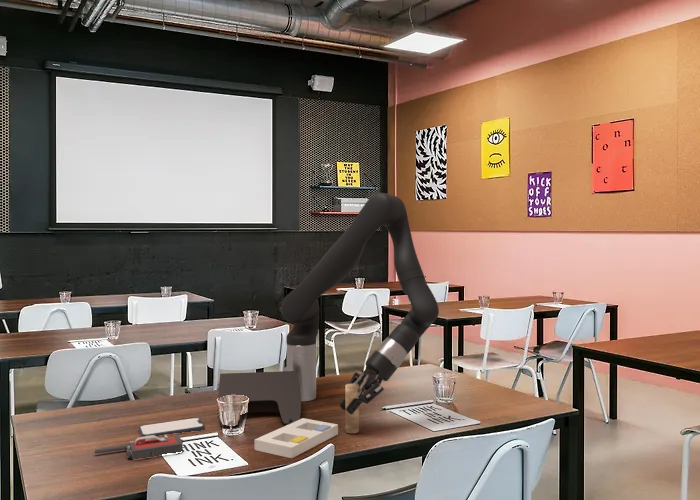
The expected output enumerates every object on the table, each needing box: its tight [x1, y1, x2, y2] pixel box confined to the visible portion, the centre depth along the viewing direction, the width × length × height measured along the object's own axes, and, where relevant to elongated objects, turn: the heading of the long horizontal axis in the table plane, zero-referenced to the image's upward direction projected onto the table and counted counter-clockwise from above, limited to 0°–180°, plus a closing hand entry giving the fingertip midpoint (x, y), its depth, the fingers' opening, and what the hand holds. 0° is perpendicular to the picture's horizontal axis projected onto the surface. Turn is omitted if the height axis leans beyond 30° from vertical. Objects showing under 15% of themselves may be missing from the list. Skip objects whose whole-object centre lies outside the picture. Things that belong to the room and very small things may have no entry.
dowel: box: [344, 383, 360, 434], centre depth 161 cm, size 4×4×12 cm
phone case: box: [138, 417, 206, 437], centre depth 164 cm, size 9×2×16 cm
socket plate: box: [254, 417, 339, 459], centre depth 154 cm, size 20×11×3 cm, turn 149°
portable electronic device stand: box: [218, 370, 302, 425], centre depth 176 cm, size 23×23×9 cm
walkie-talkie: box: [93, 435, 184, 460], centre depth 146 cm, size 9×4×20 cm
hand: (345, 409), depth 160 cm, fingers closed on dowel, 3 cm apart
